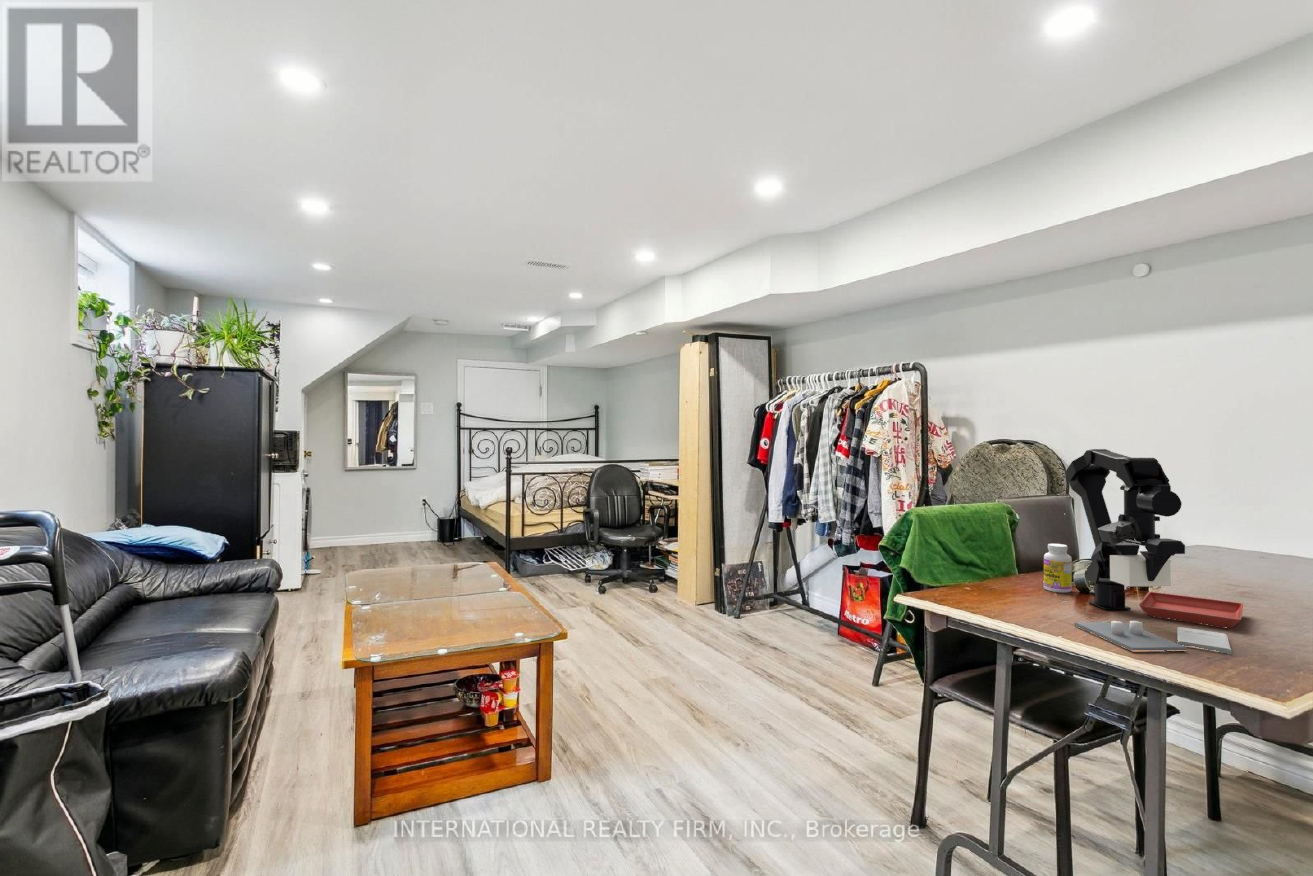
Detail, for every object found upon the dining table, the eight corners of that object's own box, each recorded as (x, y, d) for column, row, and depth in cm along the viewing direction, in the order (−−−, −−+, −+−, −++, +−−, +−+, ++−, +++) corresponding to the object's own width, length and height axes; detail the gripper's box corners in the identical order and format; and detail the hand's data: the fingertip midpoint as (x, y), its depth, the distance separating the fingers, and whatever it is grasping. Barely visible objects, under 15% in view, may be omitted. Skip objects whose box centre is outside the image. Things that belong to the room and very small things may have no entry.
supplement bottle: (1038, 588, 176) (1037, 543, 176) (1055, 586, 178) (1055, 542, 178) (1059, 594, 170) (1059, 547, 170) (1077, 592, 172) (1077, 546, 172)
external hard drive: (1177, 648, 128) (1177, 633, 138) (1231, 657, 123) (1227, 640, 132) (1177, 640, 128) (1177, 626, 138) (1231, 649, 123) (1227, 633, 132)
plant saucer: (1138, 617, 149) (1138, 604, 149) (1148, 603, 162) (1148, 590, 162) (1241, 634, 136) (1241, 619, 136) (1243, 617, 149) (1243, 603, 149)
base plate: (1074, 626, 141) (1074, 611, 141) (1122, 626, 141) (1122, 610, 141) (1132, 652, 124) (1132, 635, 124) (1186, 652, 124) (1186, 634, 124)
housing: (1129, 586, 141) (1129, 560, 141) (1110, 580, 147) (1109, 555, 147) (1170, 586, 141) (1170, 559, 141) (1149, 580, 147) (1149, 555, 147)
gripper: (1077, 507, 153) (1077, 569, 153) (1136, 516, 134) (1136, 588, 134) (1122, 506, 153) (1122, 569, 153) (1187, 516, 134) (1187, 587, 135)
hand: (1139, 577), depth 144 cm, fingers closed on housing, 6 cm apart
